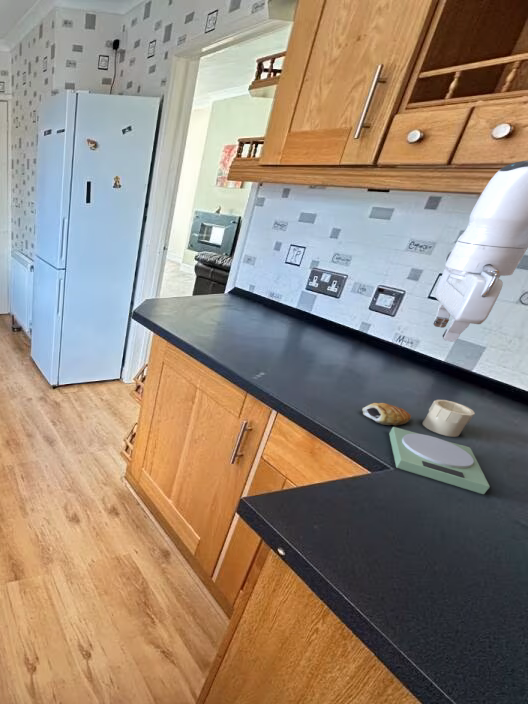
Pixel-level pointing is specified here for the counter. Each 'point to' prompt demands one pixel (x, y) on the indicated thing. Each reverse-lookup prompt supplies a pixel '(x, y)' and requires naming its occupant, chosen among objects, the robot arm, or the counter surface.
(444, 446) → the scale
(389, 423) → the pastry
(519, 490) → the counter surface
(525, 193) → the robot arm
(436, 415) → the cream hollow cylinder
